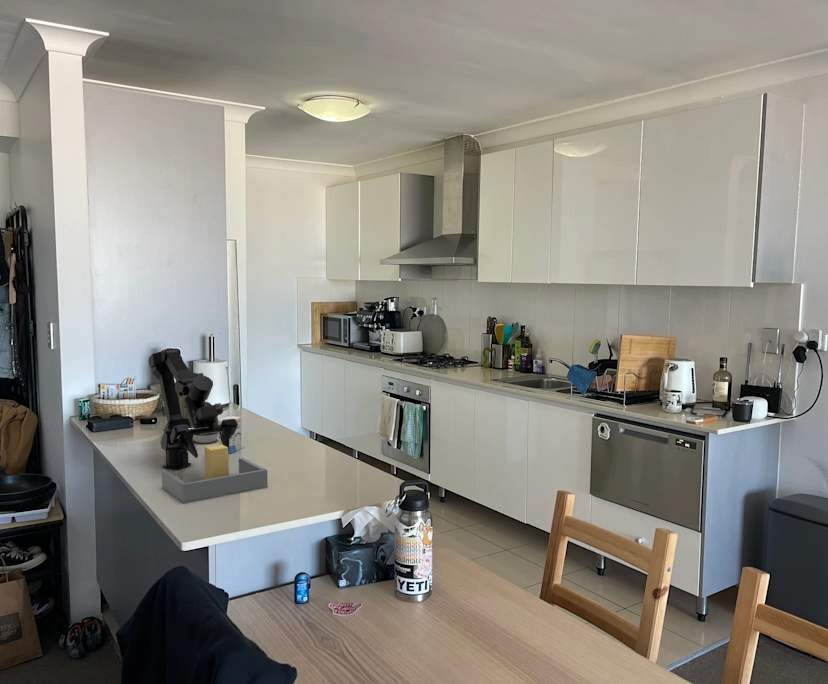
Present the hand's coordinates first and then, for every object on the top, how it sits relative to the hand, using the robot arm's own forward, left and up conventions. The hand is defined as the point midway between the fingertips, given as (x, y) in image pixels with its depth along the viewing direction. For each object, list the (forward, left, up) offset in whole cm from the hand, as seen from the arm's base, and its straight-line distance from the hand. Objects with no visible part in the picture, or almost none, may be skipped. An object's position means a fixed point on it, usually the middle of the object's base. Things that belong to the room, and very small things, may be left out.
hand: (212, 454), depth 199 cm
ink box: (-26, +39, -10) cm, 47 cm away
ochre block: (+2, -1, -9) cm, 10 cm away
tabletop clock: (-63, +60, -10) cm, 88 cm away
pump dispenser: (-43, +46, -10) cm, 63 cm away
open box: (+1, 0, -10) cm, 10 cm away
